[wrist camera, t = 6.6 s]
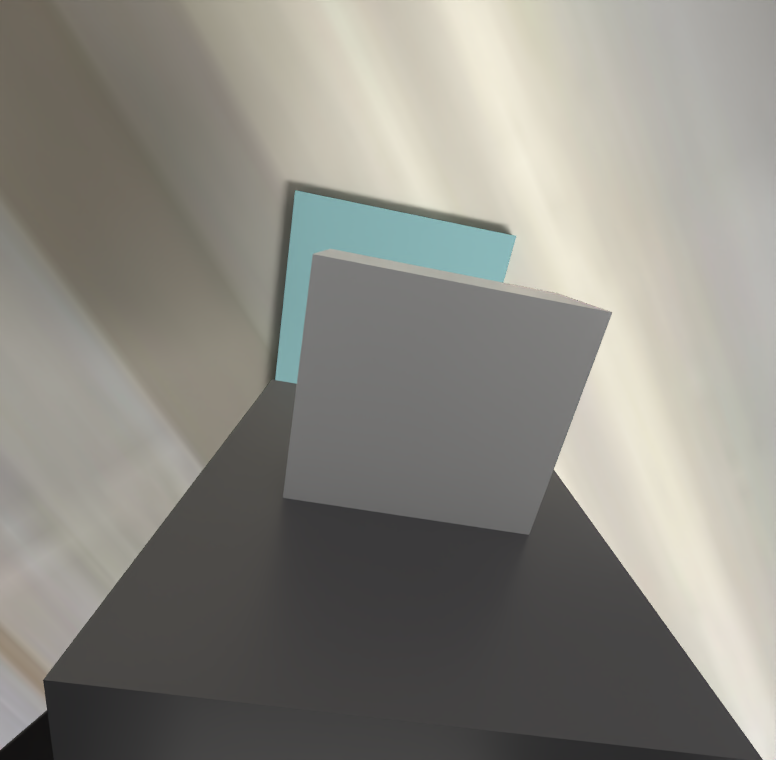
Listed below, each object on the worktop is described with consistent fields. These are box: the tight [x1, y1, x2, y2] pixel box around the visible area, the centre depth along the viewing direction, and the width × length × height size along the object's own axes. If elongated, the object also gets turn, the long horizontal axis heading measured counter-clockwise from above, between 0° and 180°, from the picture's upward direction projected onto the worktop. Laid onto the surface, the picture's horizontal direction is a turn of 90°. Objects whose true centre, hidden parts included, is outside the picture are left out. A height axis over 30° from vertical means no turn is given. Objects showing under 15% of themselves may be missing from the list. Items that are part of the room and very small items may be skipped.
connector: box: [43, 249, 763, 760], centre depth 6 cm, size 12×4×5 cm, turn 169°
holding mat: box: [275, 190, 516, 384], centre depth 17 cm, size 14×8×1 cm, turn 169°
